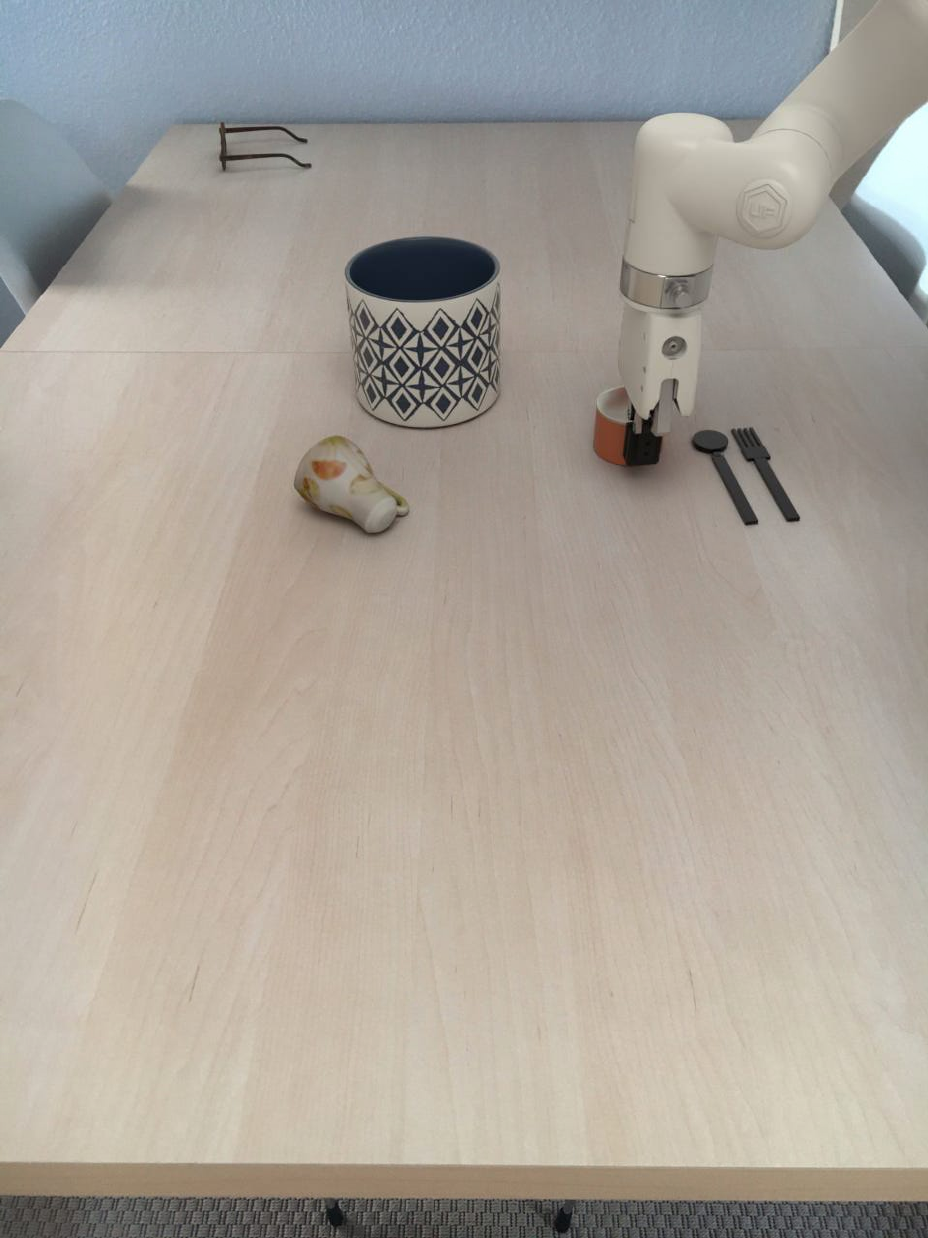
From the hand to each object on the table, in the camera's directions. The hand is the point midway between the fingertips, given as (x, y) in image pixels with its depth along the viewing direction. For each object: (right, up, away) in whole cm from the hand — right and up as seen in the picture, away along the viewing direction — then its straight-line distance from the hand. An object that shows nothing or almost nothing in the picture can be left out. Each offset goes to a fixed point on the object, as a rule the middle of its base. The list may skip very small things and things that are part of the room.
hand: (640, 460), depth 96 cm
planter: (-21, +10, +14) cm, 27 cm away
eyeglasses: (-51, +63, +72) cm, 108 cm away
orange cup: (0, +2, +6) cm, 6 cm away
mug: (-27, -5, -2) cm, 28 cm away
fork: (+13, -1, +2) cm, 13 cm away
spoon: (+9, -1, +2) cm, 9 cm away
